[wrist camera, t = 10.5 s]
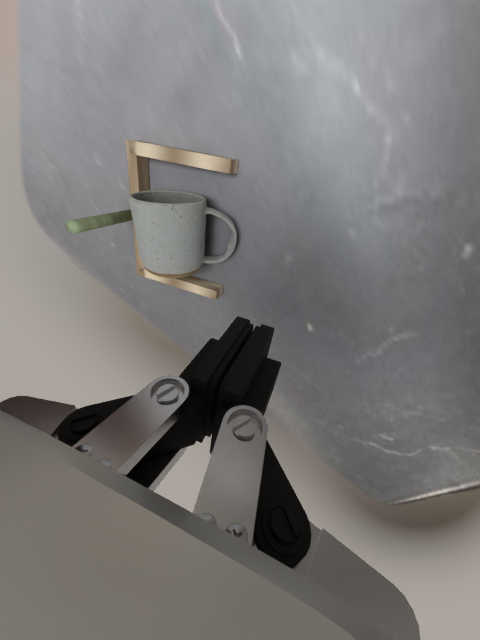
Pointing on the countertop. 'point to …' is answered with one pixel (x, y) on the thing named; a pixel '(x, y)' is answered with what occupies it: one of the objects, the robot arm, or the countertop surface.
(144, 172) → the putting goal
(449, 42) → the countertop surface
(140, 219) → the ceramic mug
